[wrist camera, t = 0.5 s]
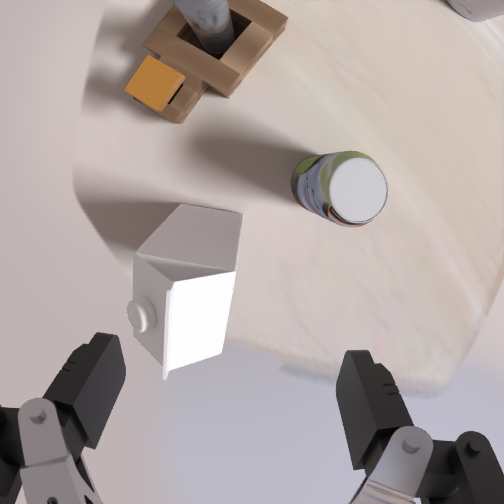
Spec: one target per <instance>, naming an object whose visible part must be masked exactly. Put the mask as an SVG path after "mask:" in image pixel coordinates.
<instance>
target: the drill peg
mask: <svg viewBox="0 0 504 504" xmlns="http://www.w3.org/2000/svg"><path fill="white" fill-rule="evenodd" d="M173 1H174V3H175V4H176V6H177V7H178V8H179V10H180V11H181V13H182V15H183V16H184V18H185V19H186V21H187V22H188V24H189V25H190V27H191V28H192V30H193V31H194V33H195V34H196V36H197V38H198V39H199V41H200V42H201V44H202V45H203V47H204V48H205V49H206V50H207V51H209V52H211V53H216V54H217V53H223V52H226V51H227V50H228V49H229V48H230V47H231V46H232V44H233V43H234V42H235V33H234V29H233V24H232V19H231V15H230V10H229V6H228V1H227V0H173Z"/></svg>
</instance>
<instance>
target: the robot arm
mask: <svg viewBox="0 0 504 504" xmlns="http://www.w3.org/2000/svg"><path fill="white" fill-rule="evenodd" d="M446 1H447V2H448V3H449V4H450V5H451V7H452V8H453V9H454V10H456V11H457V12H458V13H459V14H460V15H462V16H463V17H465V18H467V19H469V20H472V21H475V22H480V21H484V20H487V19H490V18H493V17H496V16H500V15H503V14H504V0H446ZM125 375H126V367H125V363H124V358H123V354H122V350H121V345H120V341H119V338H118V336H117V335H113V334H107V333H100V332H97V333H96V334H95V335H94V337H93V338H92V339H91V341H90V342H89V344H83V345H81V346H80V347H79V348H77V349H76V350H74V351H73V352H72V354H71V355H70V357H69V358H68V360H67V362H66V363H65V364H64V366H63V367H62V370H60V371H59V373H58V374H57V376H56V377H55V379H54V381H53V382H52V383H51V385H50V387H49V388H48V390H47V391H46V393H45V394H44V396H43V397H42V398H35V399H31V400H29V401H27V402H26V403H24V404H23V405H22V406H21V408H5V407H1V405H0V504H15V502H16V499H17V496H18V493H19V491H20V488H21V486H22V485H23V489H24V493H25V497H26V501H27V504H103V503H102V501H101V499H100V497H99V495H98V493H97V491H96V488H95V486H94V484H93V481H92V479H91V477H90V474H89V471H88V469H87V466H86V463H85V461H84V458H83V456H82V454H81V453H82V450H83V448H84V446H86V447H89V448H92V449H96V446H97V444H98V442H99V439H100V437H101V434H102V432H103V430H104V427H105V425H106V422H107V420H108V418H109V415H110V413H111V410H112V409H113V406H114V404H115V402H116V399H117V397H118V395H119V393H120V391H121V388H122V386H123V384H124V381H125ZM336 397H337V401H338V406H339V409H340V414H341V418H342V422H343V426H344V430H345V435H346V439H347V443H348V448H349V452H350V456H351V461H352V465H353V469H354V470H359V469H365V473H366V477H365V478H364V480H363V481H362V483H361V484H360V486H359V488H358V489H357V491H356V493H355V494H354V496H353V497H352V499H351V500H350V502H349V503H348V504H416V503H415V502H413V499H414V497H417V498H420V499H421V503H422V504H504V474H503V472H502V469H501V467H500V465H499V462H498V460H497V458H496V456H495V453H494V451H493V449H492V447H491V445H490V442H489V441H488V439H487V438H486V437H485V436H484V435H482V434H481V433H478V432H475V431H468V432H464V433H463V434H461V435H460V436H459V437H458V439H457V440H456V441H440V440H432V438H431V437H430V435H429V434H428V433H427V432H426V431H424V430H423V429H421V428H418V427H415V426H414V424H413V422H412V420H411V417H410V415H409V413H408V410H407V408H406V406H405V403H404V401H403V399H402V397H401V394H399V390H398V388H397V385H395V381H394V379H393V377H392V375H391V372H389V371H388V370H387V369H386V368H385V367H384V366H383V365H382V364H381V363H378V364H374V361H373V359H372V357H371V354H370V352H369V351H368V350H348V351H346V353H345V355H344V359H343V362H342V366H341V369H340V373H339V376H338V379H337V383H336Z"/></svg>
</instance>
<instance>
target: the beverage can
mask: <svg viewBox="0 0 504 504" xmlns="http://www.w3.org/2000/svg"><path fill="white" fill-rule="evenodd" d="M291 187H292V192H293V195H294V197H295V199H296V200H297V202H298V203H299V204H300V205H301V206H302V207H303V208H305V209H307V210H309V211H311V212H313V213H315V214H317V215H319V216H321V217H323V218H326V219H328V220H330V221H332V222H334V223H336V224H338V225H341V226H345V227H359V226H362V225H365V224H367V223H369V222H370V221H372V220H373V219H374V218H375V217H377V216H378V215H379V214H380V213H381V211H382V210H383V208H384V207H385V204H386V202H387V198H388V183H387V179H386V177H385V174H384V173H383V171H382V170H381V168H380V167H379V165H378V164H377V163H376V162H375V161H374V160H373V159H372V158H370V157H369V156H367V155H365V154H363V153H360V152H356V151H344V152H337V153H330V154H324V155H317V156H312V157H309V158H307V159H305V160H303V161H302V162H301V163H300V164H299V165H298V166H297V167H296V169H295V170H294V173H293V175H292V180H291Z"/></svg>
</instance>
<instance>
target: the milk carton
mask: <svg viewBox="0 0 504 504" xmlns="http://www.w3.org/2000/svg"><path fill="white" fill-rule="evenodd" d="M242 223H243V214H239V213H233V212H228V211H222V210H216V209H211V208H205V207H199V206H193V205H187V204H180V205H179V206H178V207H177V208H176V209H175V210H174V211H173V212H172V213H171V214H170V215H169V216H168V217H167V218H166V219H165V220H164V221H163V223H162V224H161V225H160V226H159V227H158V228H157V229H156V230H155V231H154V232H153V233H152V234H151V235H150V236H149V237H148V238H147V240H146V241H145V242H144V243H143V244H142V245H141V246H140V247H139V248H138V249H137V251H136V252H135V254H134V267H133V301H130V302H129V303H128V307H127V312H128V317H129V320H130V323H131V325H132V326H133V333H134V337H135V338H136V339H137V340H138V341H139V342H140V343H141V344H142V345H143V347H144V348H145V349H146V350H147V351H148V352H150V354H151V355H152V356H153V357H154V358H155V359H156V360H157V361H158V362H159V363H160V364H161V365H162V366H163V380H166V379H167V375H168V372H169V370H172V369H176V368H179V367H182V366H185V365H188V364H191V363H194V362H197V361H200V360H203V359H206V358H209V357H212V356H215V355H218V354H221V352H222V348H223V342H224V337H225V331H226V326H227V320H228V315H229V309H230V304H231V298H232V293H233V287H234V282H235V276H236V268H237V261H238V253H239V246H240V238H241V230H242Z"/></svg>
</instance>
